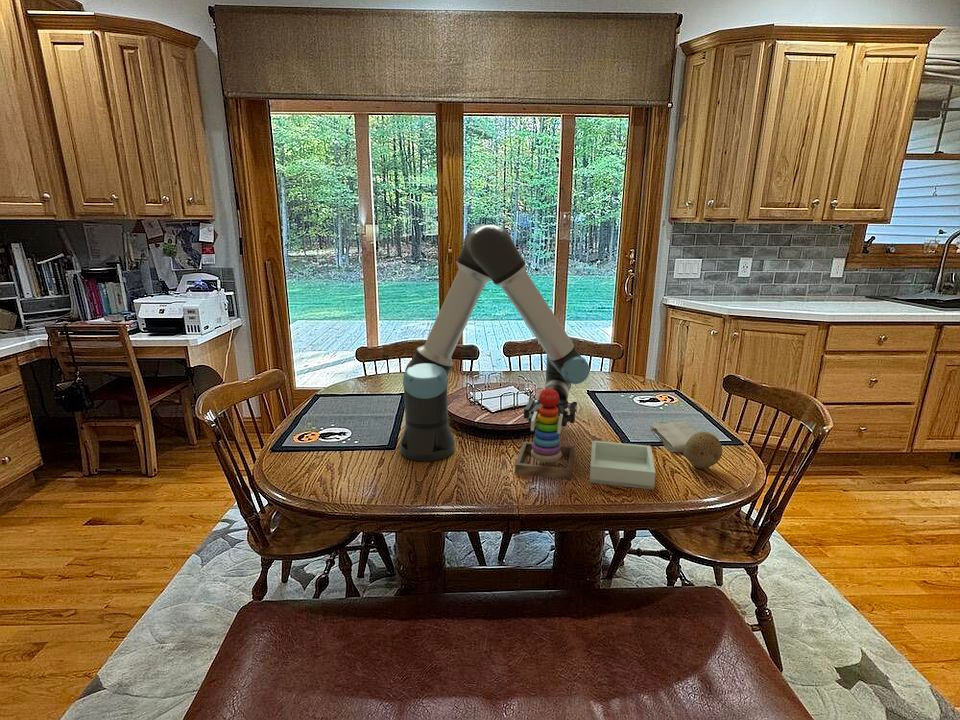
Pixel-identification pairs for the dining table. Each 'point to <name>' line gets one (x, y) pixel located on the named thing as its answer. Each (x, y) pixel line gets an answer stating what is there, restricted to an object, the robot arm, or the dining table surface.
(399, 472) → the dining table surface
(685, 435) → the washcloth
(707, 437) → the natural sponge
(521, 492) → the dining table surface
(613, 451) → the sage tray
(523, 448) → the walnut holder
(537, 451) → the stacking toy
